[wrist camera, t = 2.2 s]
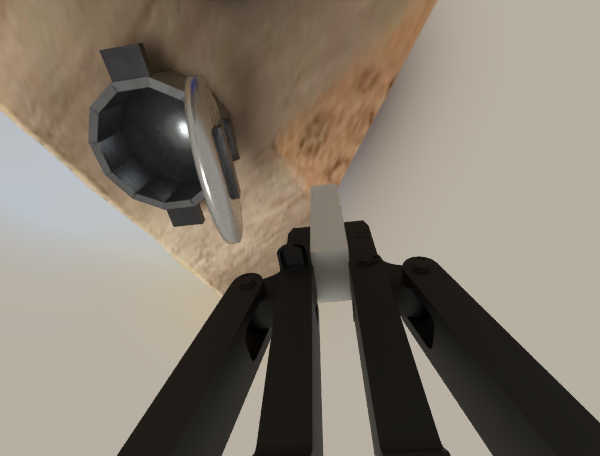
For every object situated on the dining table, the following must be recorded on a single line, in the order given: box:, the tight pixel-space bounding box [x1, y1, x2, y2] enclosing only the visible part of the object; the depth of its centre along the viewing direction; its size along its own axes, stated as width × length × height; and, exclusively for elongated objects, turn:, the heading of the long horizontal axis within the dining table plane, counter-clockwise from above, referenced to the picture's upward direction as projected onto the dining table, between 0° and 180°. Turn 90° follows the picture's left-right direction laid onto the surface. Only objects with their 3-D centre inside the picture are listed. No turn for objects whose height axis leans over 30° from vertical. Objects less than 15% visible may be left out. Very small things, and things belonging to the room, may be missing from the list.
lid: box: [184, 75, 243, 244], centre depth 30 cm, size 16×16×2 cm
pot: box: [88, 43, 240, 227], centre depth 41 cm, size 22×18×7 cm
